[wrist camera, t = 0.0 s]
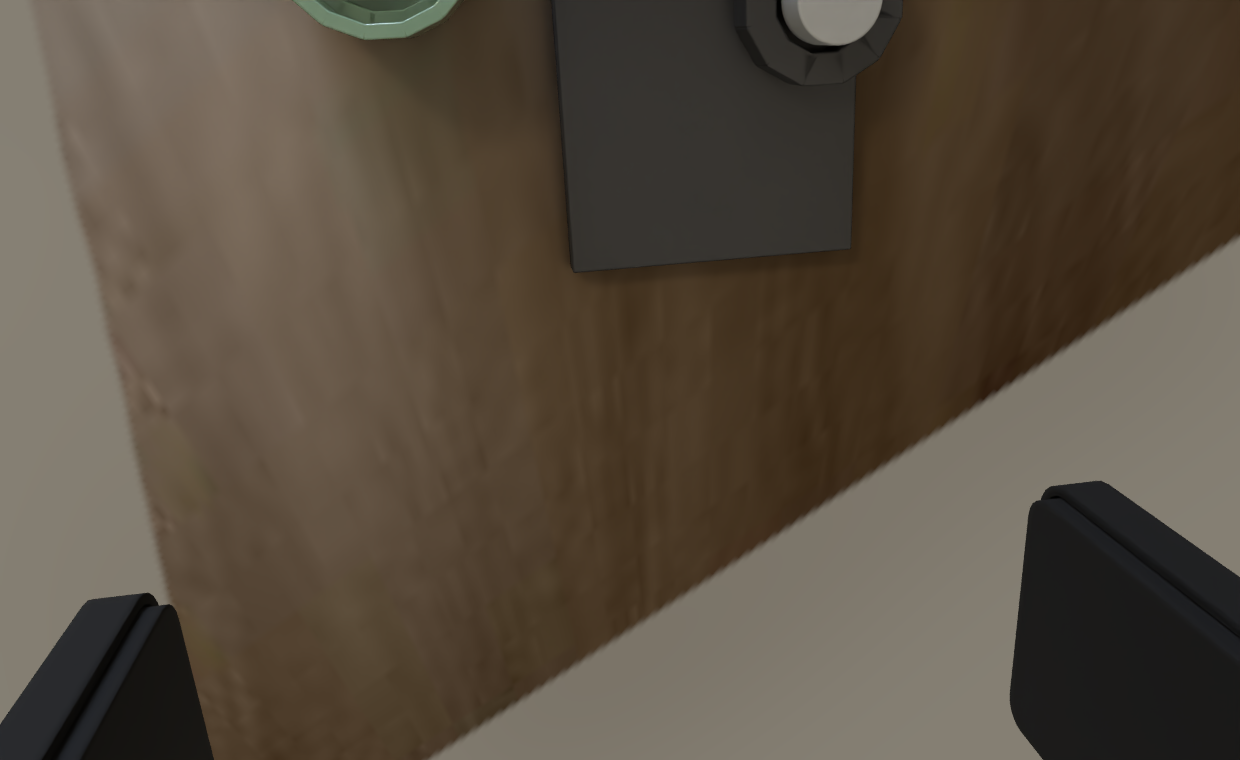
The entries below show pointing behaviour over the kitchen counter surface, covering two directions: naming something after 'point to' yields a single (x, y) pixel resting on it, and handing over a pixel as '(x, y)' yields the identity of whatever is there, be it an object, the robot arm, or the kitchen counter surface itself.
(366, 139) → the kitchen counter surface
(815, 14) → the power button
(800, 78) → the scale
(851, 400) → the kitchen counter surface
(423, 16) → the green cup
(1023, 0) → the kitchen counter surface
